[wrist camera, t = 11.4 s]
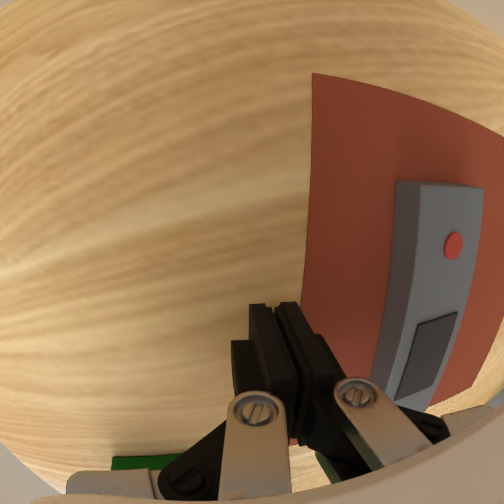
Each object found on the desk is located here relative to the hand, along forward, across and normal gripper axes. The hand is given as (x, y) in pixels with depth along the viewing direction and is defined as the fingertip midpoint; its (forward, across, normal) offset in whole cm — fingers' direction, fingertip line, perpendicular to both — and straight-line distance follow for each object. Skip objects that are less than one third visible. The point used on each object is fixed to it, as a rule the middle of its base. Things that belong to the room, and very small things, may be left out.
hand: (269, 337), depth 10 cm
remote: (+1, -8, +1) cm, 8 cm away
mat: (+1, -11, 0) cm, 11 cm away
